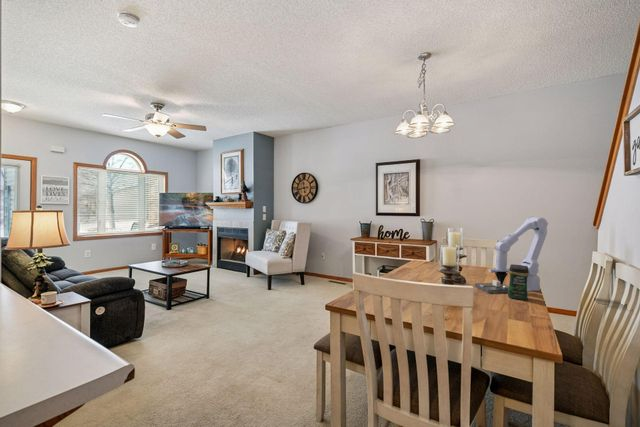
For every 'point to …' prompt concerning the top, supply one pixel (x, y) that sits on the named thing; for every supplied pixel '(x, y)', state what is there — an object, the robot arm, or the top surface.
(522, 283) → the coffee jar
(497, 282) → the fader cap
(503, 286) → the console
